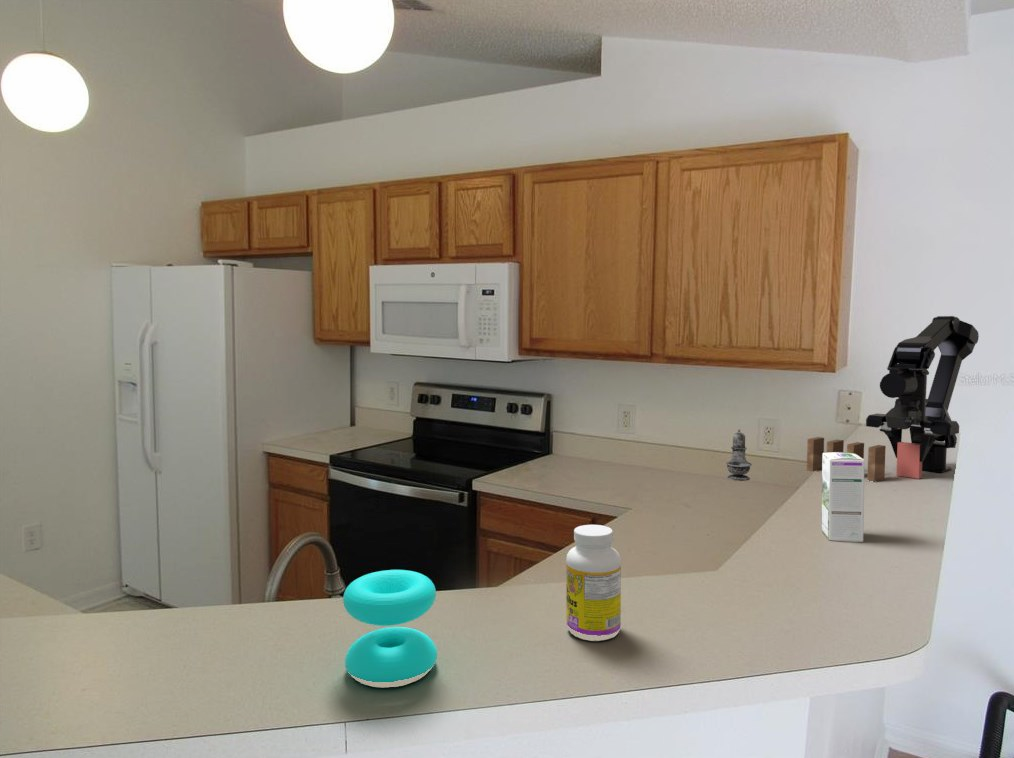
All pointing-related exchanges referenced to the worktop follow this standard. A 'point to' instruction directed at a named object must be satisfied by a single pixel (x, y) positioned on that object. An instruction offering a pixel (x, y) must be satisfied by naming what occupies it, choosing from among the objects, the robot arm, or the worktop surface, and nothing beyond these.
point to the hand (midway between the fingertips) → (909, 459)
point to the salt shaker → (738, 459)
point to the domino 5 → (909, 460)
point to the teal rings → (390, 604)
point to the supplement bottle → (593, 582)
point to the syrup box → (842, 496)
